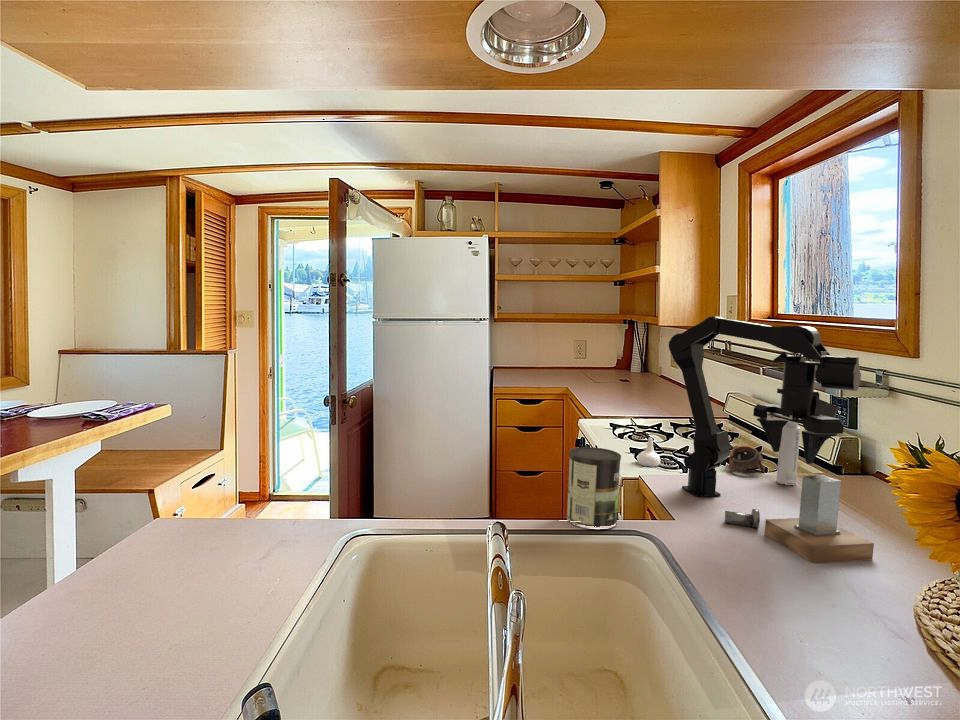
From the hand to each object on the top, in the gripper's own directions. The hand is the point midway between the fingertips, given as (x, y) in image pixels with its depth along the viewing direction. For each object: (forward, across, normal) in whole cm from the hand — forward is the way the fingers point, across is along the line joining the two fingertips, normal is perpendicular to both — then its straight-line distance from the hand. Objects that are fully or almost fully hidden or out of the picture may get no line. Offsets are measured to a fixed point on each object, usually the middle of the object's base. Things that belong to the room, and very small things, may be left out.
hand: (791, 457), depth 110 cm
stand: (+13, -14, +6) cm, 20 cm away
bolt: (+13, -3, +14) cm, 19 cm away
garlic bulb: (+13, +40, +11) cm, 44 cm away
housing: (+10, -14, +6) cm, 18 cm away
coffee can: (+13, +2, +44) cm, 46 cm away
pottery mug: (+13, +32, -14) cm, 38 cm away
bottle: (+13, +21, -18) cm, 31 cm away
